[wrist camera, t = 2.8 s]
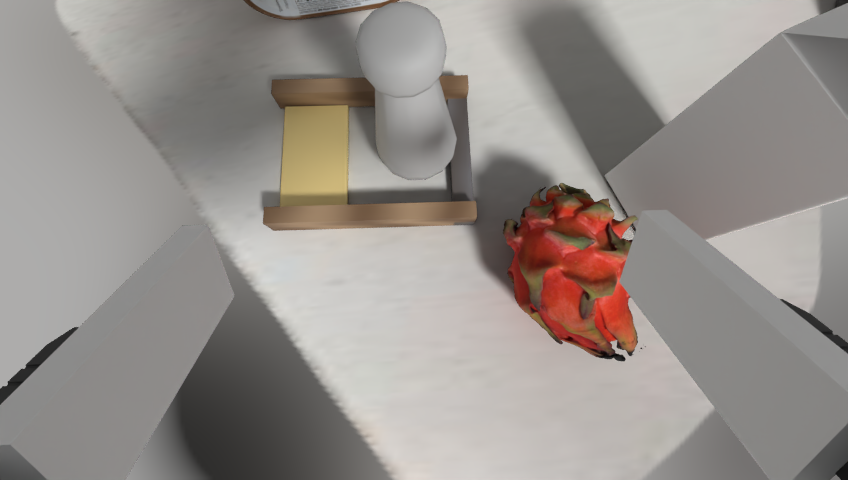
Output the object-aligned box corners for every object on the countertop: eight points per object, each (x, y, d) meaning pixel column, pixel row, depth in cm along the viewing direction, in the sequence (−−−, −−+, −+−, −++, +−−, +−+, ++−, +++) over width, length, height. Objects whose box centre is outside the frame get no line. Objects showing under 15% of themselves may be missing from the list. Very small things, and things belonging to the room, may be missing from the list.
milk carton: (729, 219, 29) (1277, 31, 10) (650, 257, 28) (1090, 127, 10) (678, 142, 30) (1081, -146, 12) (601, 176, 30) (905, -73, 11)
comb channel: (464, 91, 31) (467, 75, 29) (473, 224, 29) (477, 217, 27) (281, 95, 31) (272, 79, 29) (273, 230, 28) (263, 223, 26)
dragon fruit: (522, 199, 31) (577, 339, 30) (453, 218, 25) (518, 391, 25) (628, 153, 24) (700, 329, 24) (566, 165, 19) (658, 397, 18)
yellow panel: (348, 107, 31) (347, 105, 30) (347, 211, 29) (346, 210, 28) (286, 109, 31) (285, 106, 30) (281, 213, 29) (279, 212, 28)
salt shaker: (369, 173, 30) (311, 59, 17) (400, 112, 31) (367, -38, 18) (438, 201, 29) (430, 104, 16) (467, 137, 30) (482, -2, 17)
